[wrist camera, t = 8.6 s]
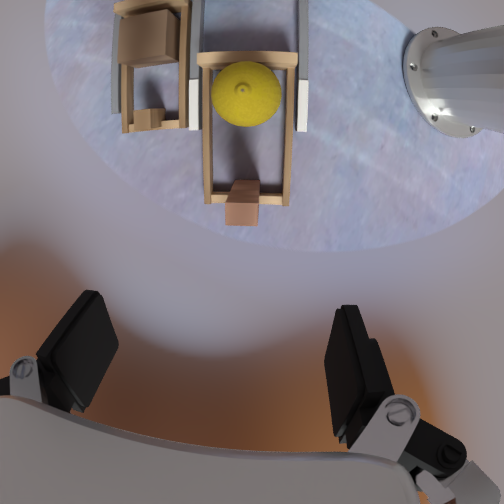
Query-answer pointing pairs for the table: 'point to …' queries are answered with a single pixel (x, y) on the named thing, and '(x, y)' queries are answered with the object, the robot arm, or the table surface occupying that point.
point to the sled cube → (155, 119)
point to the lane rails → (196, 70)
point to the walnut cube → (149, 39)
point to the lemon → (246, 93)
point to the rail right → (115, 70)
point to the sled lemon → (243, 191)
